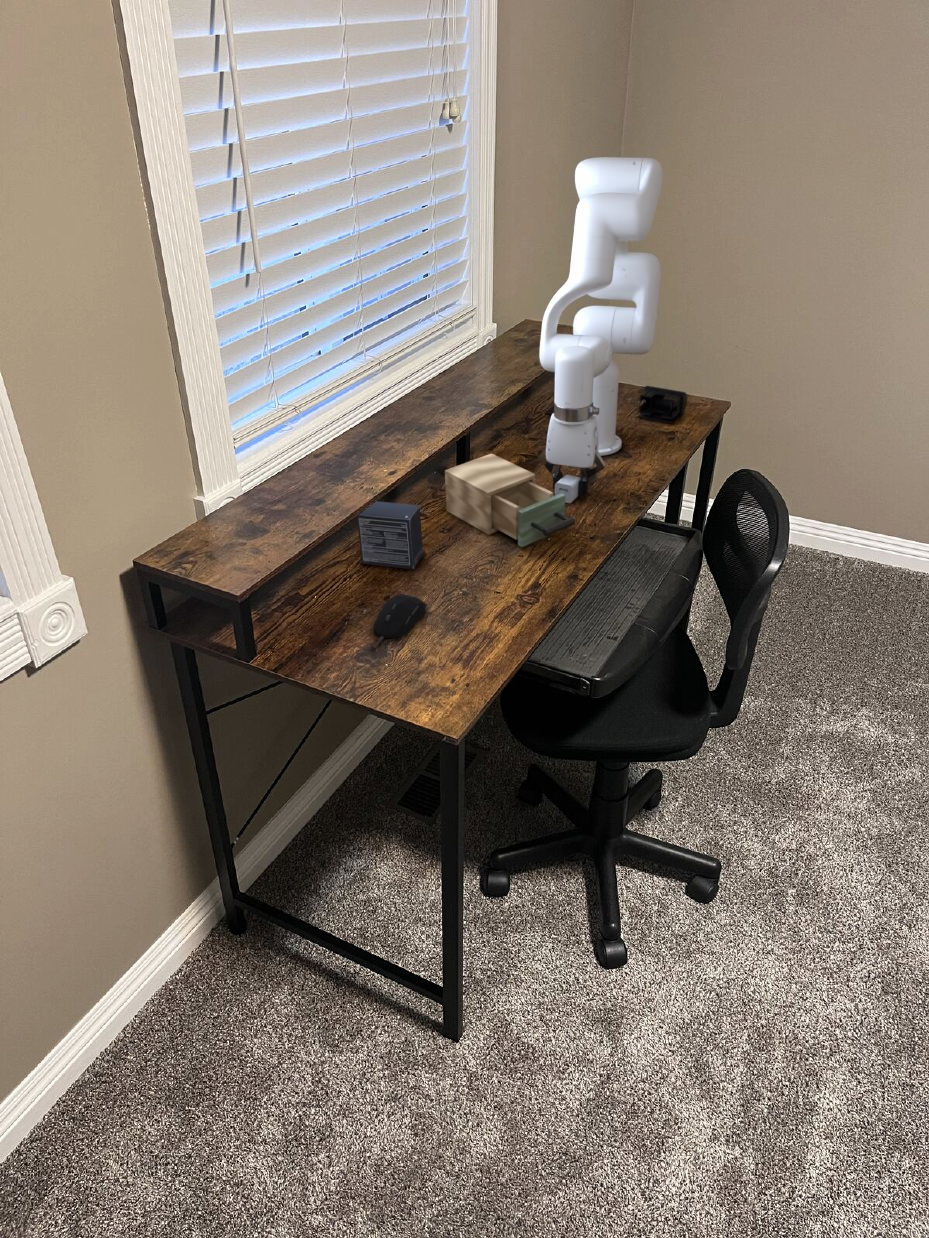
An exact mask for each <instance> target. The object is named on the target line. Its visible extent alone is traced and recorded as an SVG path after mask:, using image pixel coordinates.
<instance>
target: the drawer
mask: <svg viewBox="0 0 929 1238" xmlns="http://www.w3.org/2000/svg"><path fill="white" fill-rule="evenodd" d="M565 511H566V502H565V495H564V494H562V493H560V494H558V495H555V494H554V492H553V491H551V490H549V489H547V488H545V487H542V486H541V485H538V484H536V483H535V484H534V483H532V482H530V481H526V482H524V483H521V484H519V485H516V486H514V487H511V488H509V489H506V490H503V491H501V492H498V493H496V494H493V495H491V520H492V527H494V528H496V529H498V530H499V531H500V532H501V533H503V534H505V535H507V536H509V537H511V538H512V539H514V540H516V541H517V545H518V546H519V547H521V548H524V547H526V546H528V545H530V544H533V543H535V542H538V541H540V540H541V539H545V538H546V537H549V536H551V535H554V534H556V533H558V532H560V531H562V530H564V529H567V528H569V527H571V526H573V525H575V524H576V520H575V518H574V517H567V516H565V515H566V512H565Z"/></svg>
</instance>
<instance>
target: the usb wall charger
mask: <svg viewBox="0 0 929 1238" xmlns="http://www.w3.org/2000/svg"><path fill="white" fill-rule="evenodd" d="M580 479H581V476H575V475H571V474H565V475H563V478H561V479H560V480H559V481H558V482H557V483H556V484H555V489H554V496H555V495H558V494H560V493H562V494H564V495H565V503H568V504H571V503H572V502H574V501H575V500H576V499H577V498H578V492H579V481H580Z"/></svg>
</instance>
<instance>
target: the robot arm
mask: <svg viewBox="0 0 929 1238" xmlns="http://www.w3.org/2000/svg"><path fill="white" fill-rule="evenodd" d="M574 171H575V172H574V184H575V190H576V193H577V196H578V199H579V201H578V203H577V205H576V210H575V216H574V227H573V236H572V237H573V238H572V246H571V255H570V266H569V275H568V278H567V280H566V282H565V283H564V284H563V285H562V286H561V287H560V288H559V289H558V290H557V291H556V293H555V294H554V295H553V297H552V298H551V300H550V301H549V303H548V305H547V306H546V309H545V311H544V314H543V317H542V322H541V332H540V340H539V363H540V366H541V367H542V368H543V369H544V370H545V371H547V372H550V373H554V394H553V395H554V400H553V404H554V405H553V413H552V414H551V416H550V418H549V424H548V429H547V436H546V445H545V448H544V449H543V450H542V452H541V453H540V454H539V455H538V456H537V461H538V462H539V463H540V464H541V465H542V466H544V468H545V469H546V470H547V471H548V472H549V473H550V476H551V477H552V489H553V490H555V484H556V483H557V482H558V481H559V480H560V479H561V478H563V477H564V473H563V472H562V467H563V466H565V467H573V468H579V473H580V478H581V479H580V481H579V492H578V497H577V498H578V499H580V500H582V499H583V498H584V496H585V495H587V494H588V493H589V492H588V491H589V480H590V478H592V477H593V476H594V475H596V474H597V473H600V472H601V471H603V470H605V468H606V467H607V464H606V461H604V459H603V456H608V455H612V454H615V453H617V452H619V450H620V449H621V448H622V443H623V441H622V438H621V437H619V436H618V435H616V433H617V432H616V430H617V414H618V413H617V412H618V401H619V399H618V398H619V381H620V371H619V367H618V365H617V362H616V361H615V359H614V356H613V354H617V355H635V356H638V355H640V356H641V355H646V354H648V353H649V352H650V351H651V350H652V348H653V346H654V343H655V337H656V333H657V332H656V330H657V322H658V321H657V320H658V311H659V302H660V292H661V278H662V270H661V263H660V260H659V258H658V257H657V256H656V255H655V254H653V253H650V252H640V251H639V252H637V251H629V249H628V245H629V244H628V243H629V242H641V241H644V240H645V239H646V238H647V237H648V235H649V234H650V232H651V229H652V226H653V223H654V219H655V215H656V211H657V207H658V203H659V199H660V196H661V192H662V188H663V182H664V171H663V167H662V164H661V162H660V161H659V160H657V159H655V158H654V157H653V158H652V157H621V156H620V157H618V156H600V157H599V156H598V157H591V158H586V159H583V160H581V161H580V162H578V164H577V165H576V167H575V170H574ZM586 295H587V296H589V297H591V298H593V299H598V300H613V301H614V300H615V301H632V302H634V304H635V306H636V307H627V306H611V305H588V306H585V307H582V308H581V309H579V310H578V311H577V312H576V314H575V316H574V319H573V323H572V333H573V334H569V333H557V332H558V331H557V330H558V324H559V321H560V318H561V315H562V313H563V312H564V311H565V309H566V308H567V307H568V306H569V305H570V304H572V303H573V302H575V301H576V300H578V299H580V298H581V297H584V296H586ZM594 464H595V465H594Z"/></svg>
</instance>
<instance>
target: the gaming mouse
mask: <svg viewBox="0 0 929 1238" xmlns="http://www.w3.org/2000/svg"><path fill="white" fill-rule="evenodd" d="M425 611H426V603H425V602H424V601H423V600H422V599H420V598H418V597H417V596H414V595H409V594H405V593H400V594H396V595H393V596H391V597H389V598H388V599H387V600H386V601H385V602H384V603H383V606H382V607H381V609H380V611H379V613H378V614H377V617H376V619H375V622H374V624H373V633H374V634H376V635H377V636H378V637H379V638H378V639H377V642H376V643H375V644H374V645H373V646H372V649H373V650H376V648H377V647H378V646H379V644H381V643H382V641H383V640H384V639H397V638H400V637H401V636H404V635H405V634H406V633H407V632H408V631H409V630H410V629H412V627H413V626H414V625H415V624H416V623H417V622H418V621H419V620H420V619H421V618H422V617H423V616H424V614H425Z"/></svg>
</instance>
